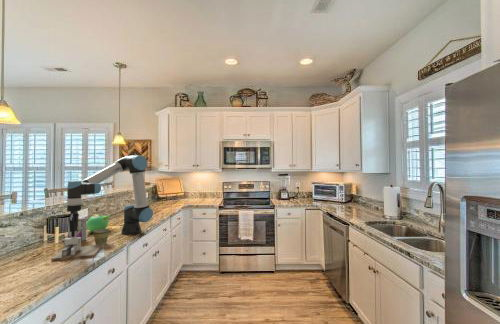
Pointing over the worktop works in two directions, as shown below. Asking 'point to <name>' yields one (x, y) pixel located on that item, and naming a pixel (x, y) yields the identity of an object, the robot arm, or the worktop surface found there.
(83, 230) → the candy bar box
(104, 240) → the tan flower pot
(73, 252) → the tong jaw
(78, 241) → the lock collar
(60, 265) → the worktop surface
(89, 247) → the board
